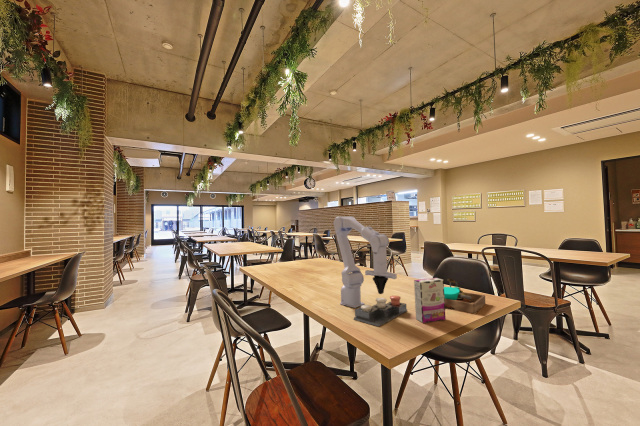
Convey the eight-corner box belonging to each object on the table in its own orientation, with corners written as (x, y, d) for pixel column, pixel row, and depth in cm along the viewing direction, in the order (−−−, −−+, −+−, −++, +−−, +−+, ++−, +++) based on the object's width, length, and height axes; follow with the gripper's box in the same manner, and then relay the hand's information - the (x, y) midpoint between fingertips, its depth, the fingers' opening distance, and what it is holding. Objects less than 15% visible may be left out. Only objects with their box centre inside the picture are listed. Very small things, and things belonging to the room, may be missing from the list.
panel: (352, 319, 114) (352, 310, 114) (382, 305, 131) (382, 297, 131) (380, 327, 105) (379, 317, 105) (408, 311, 122) (407, 303, 122)
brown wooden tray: (424, 303, 132) (424, 295, 132) (438, 295, 145) (438, 288, 145) (475, 313, 117) (474, 304, 117) (485, 303, 130) (485, 295, 130)
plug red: (388, 305, 121) (387, 297, 121) (393, 303, 124) (392, 294, 124) (397, 307, 118) (397, 299, 118) (402, 305, 121) (402, 296, 121)
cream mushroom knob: (359, 315, 115) (358, 306, 115) (365, 312, 118) (364, 304, 118) (368, 318, 112) (367, 309, 112) (374, 315, 115) (374, 306, 115)
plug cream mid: (373, 308, 118) (373, 299, 118) (379, 305, 121) (379, 297, 121) (383, 310, 115) (383, 301, 115) (388, 307, 118) (388, 299, 118)
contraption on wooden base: (478, 303, 130) (477, 272, 131) (460, 311, 120) (458, 277, 120) (449, 297, 142) (448, 268, 142) (430, 304, 131) (429, 272, 131)
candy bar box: (437, 316, 115) (436, 277, 116) (446, 320, 111) (444, 279, 111) (414, 319, 112) (413, 279, 113) (422, 323, 108) (421, 282, 108)
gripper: (361, 261, 121) (361, 292, 120) (390, 265, 111) (391, 298, 110) (369, 259, 126) (370, 289, 125) (398, 262, 116) (399, 294, 115)
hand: (380, 293), depth 118 cm, fingers closed
